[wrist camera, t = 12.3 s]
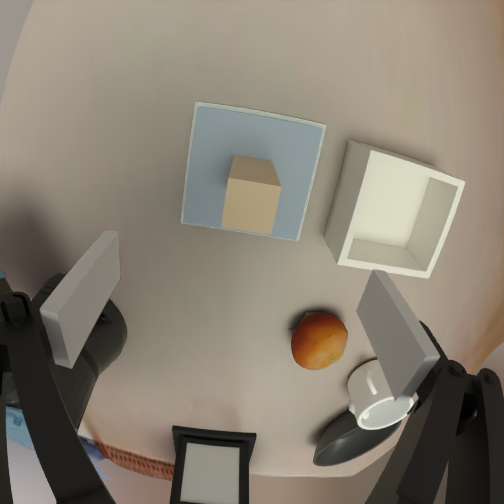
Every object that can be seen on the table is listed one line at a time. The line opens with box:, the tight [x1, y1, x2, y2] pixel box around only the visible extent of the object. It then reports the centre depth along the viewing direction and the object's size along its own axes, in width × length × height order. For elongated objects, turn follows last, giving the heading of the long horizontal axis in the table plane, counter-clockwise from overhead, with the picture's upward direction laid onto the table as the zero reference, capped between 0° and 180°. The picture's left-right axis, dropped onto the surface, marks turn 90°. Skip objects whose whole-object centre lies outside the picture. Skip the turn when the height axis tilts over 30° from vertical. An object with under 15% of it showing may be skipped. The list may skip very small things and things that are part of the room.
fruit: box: [289, 312, 348, 370], centre depth 42 cm, size 8×8×8 cm
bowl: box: [313, 410, 402, 466], centre depth 55 cm, size 12×22×6 cm, turn 148°
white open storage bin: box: [323, 140, 465, 279], centre depth 33 cm, size 12×12×7 cm
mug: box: [348, 359, 414, 430], centre depth 46 cm, size 12×10×9 cm
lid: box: [183, 106, 323, 240], centre depth 29 cm, size 13×13×11 cm
